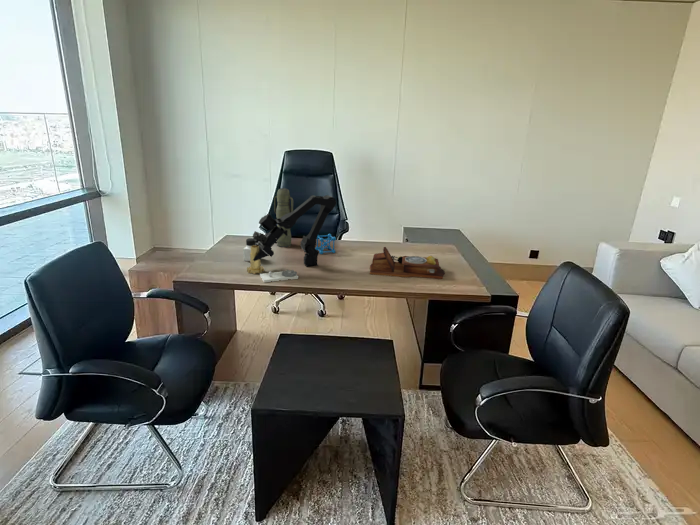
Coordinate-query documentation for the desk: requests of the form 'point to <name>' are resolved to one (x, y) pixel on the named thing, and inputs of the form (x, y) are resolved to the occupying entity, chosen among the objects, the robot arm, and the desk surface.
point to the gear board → (279, 276)
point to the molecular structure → (325, 244)
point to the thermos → (283, 213)
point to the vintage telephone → (405, 266)
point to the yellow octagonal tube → (254, 265)
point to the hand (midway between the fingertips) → (252, 259)
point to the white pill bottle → (248, 248)
